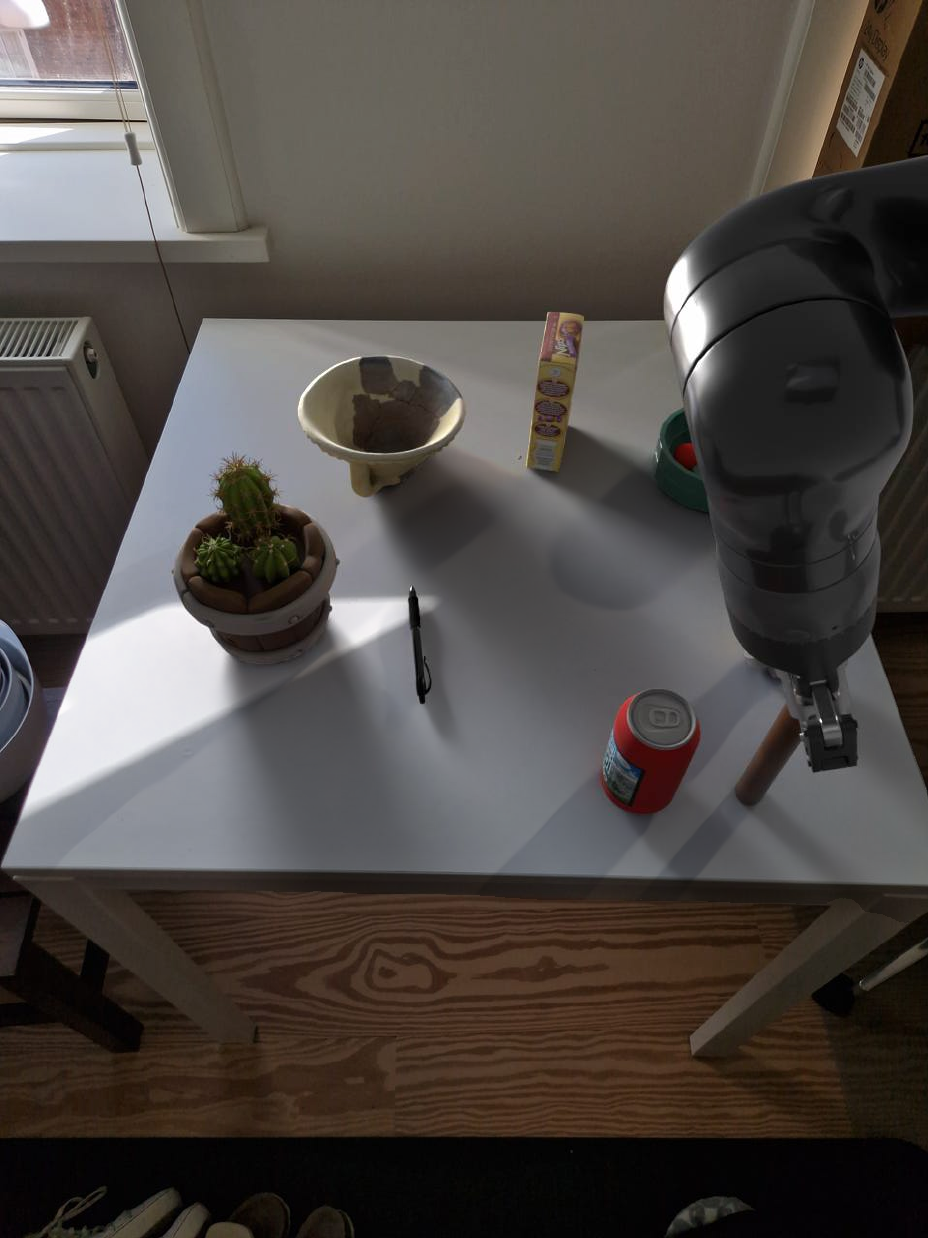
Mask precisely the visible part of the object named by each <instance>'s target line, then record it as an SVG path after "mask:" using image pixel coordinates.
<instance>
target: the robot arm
mask: <svg viewBox="0 0 928 1238" xmlns="http://www.w3.org/2000/svg"><path fill="white" fill-rule="evenodd" d="M669 273H670V274H669V275H668V278H667V280H666V284H665V288H664V293H663V319H664V323H665V329H666V334H667V338H668V342H669V347H670V350H671V351H670V352H671V355H672V358H673V362H674V363H673V364H674V367H675V368H674V369H675V372H676V373H675V374H676V378H677V381H678V386H679V387H678V388H679V392H680V395H681V401H682V405H683V407H684V410H685V415H686V419H687V423H688V428H689V432H690V436H691V440H692V444H693V448H694V452H695V456H696V459H697V463H698V466H699V470H700V473H701V477H702V480H703V483H704V486H705V489H706V492H707V501H708V507H709V512H708V514H709V519H710V522H711V526H712V531H713V536H714V540H715V543H716V546H715V560H716V570H717V574H718V578H719V583H720V586H721V591H722V595H723V599H724V602H725V607H726V610H727V611H726V612H727V614H728V619H729V623H730V626H731V630H732V632H733V634H734V636H735V639H736V640H737V642H738V644H740V646H741V647H742V649H743V650H744V651H745V650H746V651H747V652H748V653H749V654H750V655H751V656H752V657H754V658H755V659H756V660H758V661H760V662H761V663H763V664H765V665H767V666H770V667H772V668H775V672H776V675H777V677H776V678H778V679H779V680H780V679H781V680H780V681H781V684H782V685H781V686H782V689H783V695H784V698H785V704H786V703H787V707H788V710H789V713H790V716H791V717H793V718H795V719H798V720H799V722H800V727H801V731H802V733H800V737H801V742H802V743H803V747H804V750H805V754H806V756H808V758H806V763H807V766H808V768H811V771H812V773H813V774H814V773H821V772H826V771H833V770H839V769H840V770H841V769H846V768H851V767H852V768H854V767H857V766H858V760H859V756H858V730H857V729H859V724H858V720H857V718H854V715H853V713H852V712H850V713H847V712H846V711H847V710H849V709H850V708H851V706H852V699H851V694H850V690H849V689H850V688H849V684H848V678H847V674H846V668H847V667H848V665H849V659H850V658H851V657H853V655H855V654H856V653H857V652H858V651H859V650H860V649H861V648H862V647H863V645H864V644H865V643H866V641H867V640H868V639H869V636H870V635H871V632H872V631H873V628H874V625H875V621H876V616H877V604H878V593H879V592H878V591H879V582H880V581H879V580H880V570H881V554H882V553H881V549H882V548H881V547H882V546H881V539H880V533H879V530H878V515H879V514H878V513H879V503H880V502H879V499H880V494H881V493H882V491H883V490H884V488H885V486H886V485H887V483H888V482H889V480H890V477H891V476H892V474H893V472H894V470H895V469H896V467H897V465H898V464H899V462H900V460H901V459H902V457H903V455H904V454H905V452H906V450H907V449H908V448H907V447H908V445H909V443H910V440H911V436H912V430H913V424H914V423H913V421H914V392H913V391H914V390H913V381H912V376H911V371H910V367H909V363H908V359H907V357H906V353H905V351H904V348H903V345H902V343H901V340H900V338H899V335H898V333H897V329H895V327H894V324H893V321H892V319H902V318H903V319H904V318H917V317H918V318H919V317H928V154H926V155H922V156H916V157H912V158H908V159H902V160H899V161H893V162H887V163H882V164H877V165H871V166H866V167H861V168H856V169H855V168H854V169H851V170H846V171H841V172H840V171H839V172H835V173H830V174H825V175H819V176H815V177H811V178H808V179H807V178H806V179H804V180H799V181H795V182H792V183H788V184H786V185H783V186H779V187H777V188H773V189H770V190H768V191H765V192H763V193H761V194H759V195H756V196H755V197H752V198H751V199H748V200H746V201H744V202H742V203H741V204H739V205H737V206H735V207H734V208H732V209H730V210H729V211H727V212H725V213H724V214H723V215H721V216H720V217H718V219H716V220H715V221H713V222H712V223H710V225H708V226H707V227H706V228H704V230H703V231H701V232H700V233H699V234H698V235H697V236H696V237H695V239H693V240H692V241H691V242H690V244H688V246H687V247H686V248H685V249H684V250H683V252H682V253H681V254H680V256H679V257H678V259H677V260H676V262H675V264H674V265H673V267H672V269H671V271H670V272H669ZM795 687H796V689H797V691H798V693H799V694H800V695H801V696H799V695H796V694H795V693H794V689H795ZM845 712H846V713H845ZM813 715H816V719H813V720H809V718H810V717H811V716H813Z"/></svg>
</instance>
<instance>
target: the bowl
mask: <svg viewBox="0 0 928 1238" xmlns="http://www.w3.org/2000/svg"><path fill="white" fill-rule="evenodd" d="M466 413H467V406H466V402H465V399H464V398H463V395H462V394H461V392H460V390H459V389H458V388H457V387H456V386H455V384H454V383H453V382H452V381H451V380H450V379H449V378H448V377H447V376H446V375H445V374H444V373H442V372H441V371H439V370H437V369H435V368H433V367H431V366H429V365H427V364H425V363H422V362H419V361H417V360H414V359H410V358H407V357H401V356H395V355H368V356H366V355H365V356H358V357H353V358H350V359H348V360H346V361H345V360H344V361H342V362H340V363H337V364H335V365H333V366H331V367H330V368H329V369H327V370H326V371H324V372H322V373H321V374H320V375H318V376H317V377H316V378H315V379H314V380H313V381H312V382H310V384H309V385H308V386H307V387H306V389H305V390H304V391H303V393H302V395H300V398H299V403H298V406H297V415H298V420H299V423H300V425H301V427H302V430H303V432H304V433H305V435H306V438H307V439H308V440H310V442H311V443H312V444H314V445H317V446H318V448H319V449H320V451H321V452H322V453H327V454H328V456H330V457H332V458H336V459H337V460H338V461H339V460H341V461H345V462H346V463H348V464H349V479H350V486H351V489H352V491H353V492H354V494H356V495H357V496H358V497H360V498H363V499H364V498H370V497H371V496H373V495H374V494H375V493H377V492H378V491H379V490H380V489H382V488H384V487H386V486H395V485H398V484H399V483H400V484H401V483H404V482H405V481H406V480H408V479H409V478H410V477H411V476H412V475H413V474H414V472H415V469H416V468H417V465H418V464H420V463H421V462H423V461H424V459H426V458H427V457H428V456H431V457H433V456H435V455H436V454H437V453H440V452H442V451H443V449H444V448H445V447H448V446H449V445H450V443H451V442H453V441H454V440H455V437H456V436H457V435H458V434H459V432H460V430H461V429H462V427H463V425H464V422H465V420H466V419H465V418H466Z"/></svg>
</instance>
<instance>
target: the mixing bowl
mask: <svg viewBox="0 0 928 1238" xmlns="http://www.w3.org/2000/svg"><path fill="white" fill-rule="evenodd" d="M657 438H658V439H657V442H656V447H655V449H654V455H653V459H652V463H651V466H652V467H651V468H652V473H653V477H654V479H655V481H656V482H657V484H658V486H659V487H660V488H661V490H662V491H663V492H664V493H665V494H667V495H668V496H669V497H670V498H671V499H672V500H674V501H675V502H677V503H679V504H680V505H683V506H685V507H687V508H690V509H692V510H694V511H695V510H696V511H700V512H703V513H704V512H705V513H709V507H708V501H707V492H706V489H705V486H704V483H703V480H702V477H701V473H700V470H699V466H698V464H697V465H696V466H695V467H693V468H691V469H686V468H684V467H683V466H682V465H681V464H679V463H678V462H677V461H676V460H674V458H673V456H674V452H675V450H676V448H677V447H678V446H679V445H681V444H684V443H691V444H692V440H691V436H690V432H689V428H688V423H687V419H686V415H685V410H684V406H683V407H681V408H679V409H677V410H676V411H674V412H672V413H671V414H669V416H668V417H667V418H666V419H665V420H664V421H663V423H662V424H661V427H660V431H659V435H658V437H657Z"/></svg>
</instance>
